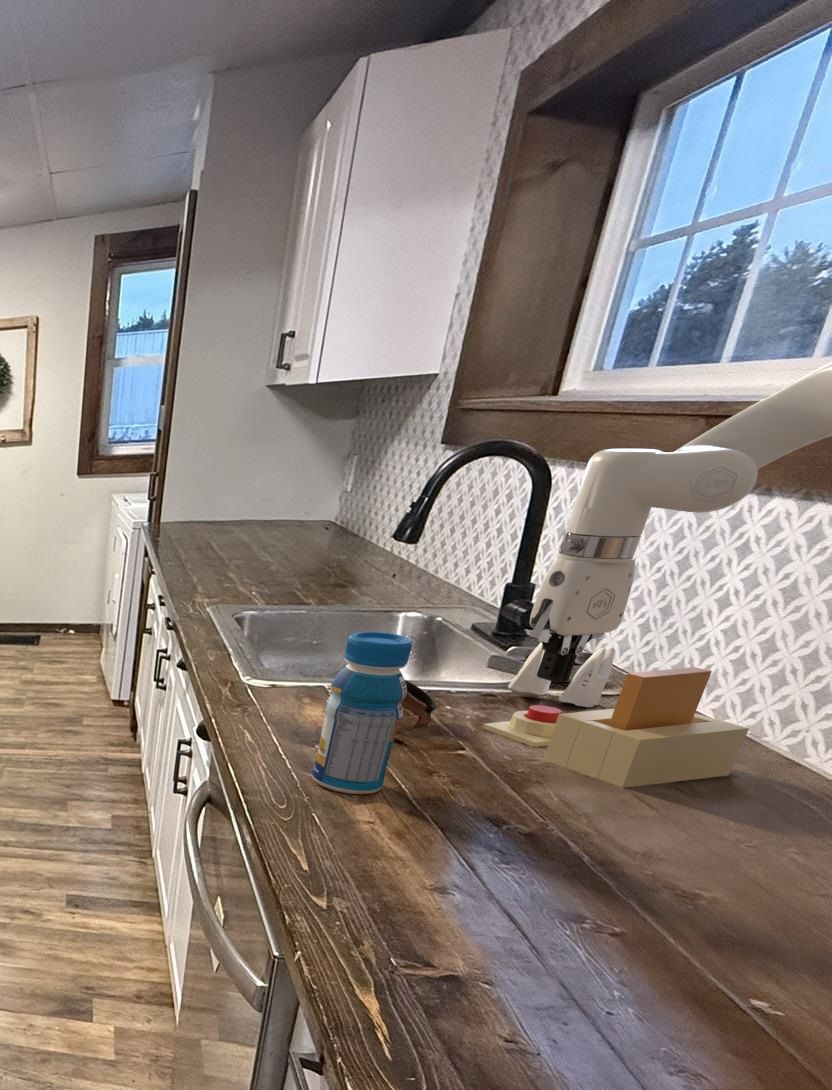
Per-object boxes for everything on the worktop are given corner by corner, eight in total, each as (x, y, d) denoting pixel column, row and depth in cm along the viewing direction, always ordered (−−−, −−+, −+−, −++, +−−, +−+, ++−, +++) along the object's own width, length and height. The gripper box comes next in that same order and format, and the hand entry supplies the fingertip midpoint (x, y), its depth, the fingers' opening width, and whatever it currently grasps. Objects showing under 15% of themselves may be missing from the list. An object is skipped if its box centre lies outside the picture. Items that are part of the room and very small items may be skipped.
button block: (537, 731, 125) (545, 706, 123) (591, 750, 118) (600, 723, 116) (479, 737, 123) (487, 712, 122) (530, 756, 116) (539, 730, 115)
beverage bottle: (343, 800, 106) (380, 648, 98) (294, 775, 113) (325, 632, 105) (399, 792, 107) (439, 642, 99) (347, 768, 115) (381, 627, 107)
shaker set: (504, 698, 139) (524, 634, 135) (504, 692, 142) (523, 629, 138) (599, 710, 132) (623, 643, 128) (597, 703, 135) (621, 637, 131)
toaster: (639, 757, 114) (659, 703, 111) (727, 787, 105) (752, 728, 102) (537, 768, 112) (555, 713, 109) (618, 800, 103) (641, 740, 100)
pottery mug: (367, 712, 136) (408, 674, 131) (410, 752, 131) (455, 715, 125) (325, 706, 131) (367, 667, 126) (368, 748, 125) (413, 709, 120)
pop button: (540, 715, 121) (543, 704, 120) (564, 723, 118) (568, 711, 117) (519, 717, 120) (522, 706, 120) (543, 725, 117) (546, 714, 117)
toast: (656, 760, 110) (693, 666, 105) (673, 766, 108) (712, 671, 103) (592, 768, 108) (627, 673, 103) (608, 773, 106) (644, 677, 101)
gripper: (578, 554, 105) (531, 691, 112) (675, 549, 107) (624, 683, 115) (522, 546, 112) (482, 675, 119) (615, 541, 114) (569, 668, 121)
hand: (551, 679), depth 117 cm, fingers closed
